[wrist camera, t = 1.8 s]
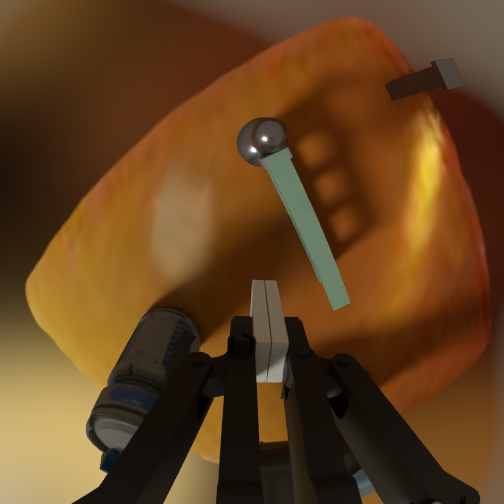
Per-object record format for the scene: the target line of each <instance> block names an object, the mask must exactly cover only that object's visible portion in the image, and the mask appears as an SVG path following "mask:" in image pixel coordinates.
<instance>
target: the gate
mask: <svg viewBox="0 0 504 504" xmlns="http://www.w3.org/2000/svg"><path fill="white" fill-rule="evenodd" d="M292 157H293V156H292V154H291V152H290V150H289V148H288V147H287V148H282V149H280V150H278V151H275V152H271V153H269V154H267V155H265V156H263V157H261V158H259V161H260V163H261V165H262V166H263V167H264V168H265V169H267V171H268V173H269V175H270V177H271V179H272V181H273V184H274V186H275V188H276V190H277V192H278V194H279V196H280V198H281V200H282V202H283V204H284V206H285V208H286V210H287V212H288V214H289V217H290V219H291V221H292V223H293V225H294V227H295V229H296V232H297V234H298V236H299V238H300V240H301V242H302V245H303V247H304V249H305V251H306V253H307V256H308V258H309V260H310V262H311V265H312V267H313V269H314V271H315V274H316V276H317V278H318V280H319V282H322V284H323V287H324V289H325V292H326V294H327V296H328V299H329V301H330V303H331V305H332V307H333V309H334V310H337V309H339V308H341V307H343V306H345V305H347V304H349V303H351V302H350V300H349V297H348V294H347V291H346V289H345V286H344V283H343V281H342V278H341V275H340V273H339V270H338V268H337V265H336V262H335V260H334V257H333V255H332V252H331V250H330V247H329V245H328V242H327V240H326V238H325V235H324V233H323V230H322V228H321V226H320V223H319V221H318V219H317V216H316V214H315V212H314V209H313V207H312V205H311V203H310V200H309V198H308V196H307V194H306V192H305V189H304V187H303V185H302V183H301V181H300V179H299V177H298V174H297V172H296V170H295V168H294V166H293V164H292V162H291V160H290V158H292Z"/></svg>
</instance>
